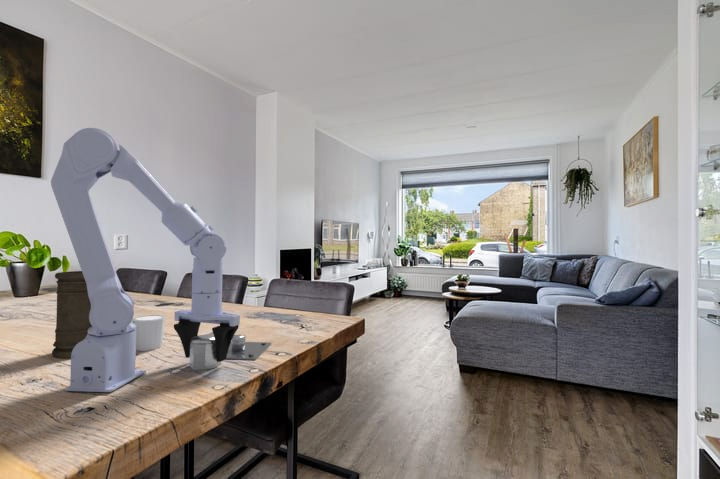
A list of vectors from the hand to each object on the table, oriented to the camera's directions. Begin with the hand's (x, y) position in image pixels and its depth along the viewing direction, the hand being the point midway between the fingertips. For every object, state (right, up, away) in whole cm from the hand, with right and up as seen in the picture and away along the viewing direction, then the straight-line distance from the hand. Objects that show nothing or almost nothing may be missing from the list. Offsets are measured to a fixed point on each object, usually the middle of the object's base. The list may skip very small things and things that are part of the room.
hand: (205, 358), depth 73 cm
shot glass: (-19, -2, +12) cm, 22 cm away
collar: (0, -1, 0) cm, 1 cm away
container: (-32, -1, +7) cm, 33 cm away
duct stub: (+3, -2, +10) cm, 10 cm away
